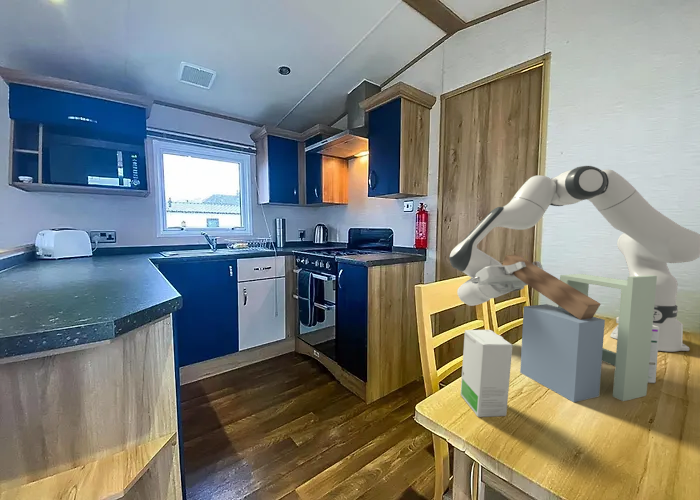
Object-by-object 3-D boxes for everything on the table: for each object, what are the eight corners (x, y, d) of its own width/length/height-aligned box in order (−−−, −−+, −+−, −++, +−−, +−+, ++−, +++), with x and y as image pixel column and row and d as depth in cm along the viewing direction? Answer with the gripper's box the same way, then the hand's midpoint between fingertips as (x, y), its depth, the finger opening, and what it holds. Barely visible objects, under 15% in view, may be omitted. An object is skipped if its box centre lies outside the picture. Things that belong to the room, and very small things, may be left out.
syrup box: (656, 383, 74) (662, 327, 72) (629, 381, 75) (633, 325, 74) (639, 372, 79) (643, 319, 78) (613, 370, 80) (618, 318, 79)
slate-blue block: (520, 372, 79) (523, 306, 77) (542, 368, 81) (546, 304, 80) (573, 402, 65) (579, 322, 64) (599, 396, 68) (604, 319, 66)
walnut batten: (501, 267, 86) (506, 254, 85) (511, 266, 88) (516, 254, 86) (580, 319, 66) (588, 305, 64) (592, 318, 68) (600, 303, 66)
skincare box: (459, 395, 68) (462, 329, 67) (487, 394, 68) (490, 328, 67) (478, 418, 59) (482, 343, 58) (509, 417, 60) (513, 342, 59)
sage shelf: (554, 368, 81) (560, 267, 79) (575, 364, 83) (582, 266, 81) (623, 401, 66) (633, 277, 64) (646, 395, 68) (656, 275, 66)
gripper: (464, 272, 90) (496, 253, 78) (517, 271, 96) (554, 253, 84) (471, 292, 87) (504, 276, 75) (524, 289, 93) (563, 273, 81)
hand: (531, 264), depth 79 cm, fingers closed on walnut batten, 4 cm apart
